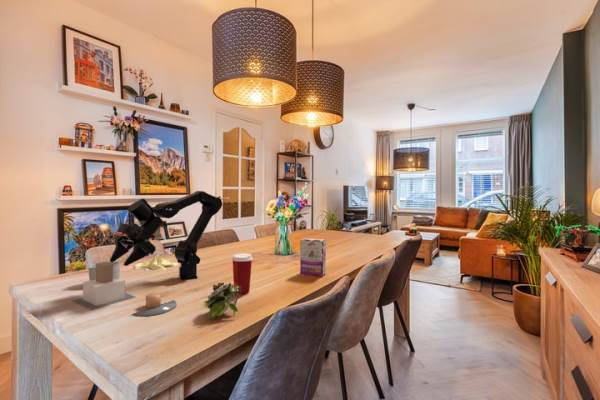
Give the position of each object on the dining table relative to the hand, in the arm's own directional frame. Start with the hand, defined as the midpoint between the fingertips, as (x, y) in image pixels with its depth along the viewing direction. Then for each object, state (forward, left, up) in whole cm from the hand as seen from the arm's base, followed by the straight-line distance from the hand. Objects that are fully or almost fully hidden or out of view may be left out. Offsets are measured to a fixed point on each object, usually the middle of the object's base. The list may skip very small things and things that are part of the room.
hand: (117, 263), depth 106 cm
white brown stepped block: (+4, +2, -11) cm, 12 cm away
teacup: (+4, -21, -12) cm, 25 cm away
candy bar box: (-78, +5, -12) cm, 79 cm away
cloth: (-16, -40, -13) cm, 45 cm away
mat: (+4, +2, -12) cm, 13 cm away
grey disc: (-10, +16, -12) cm, 22 cm away
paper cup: (-40, +15, -12) cm, 45 cm away
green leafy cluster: (-29, +31, -12) cm, 44 cm away
